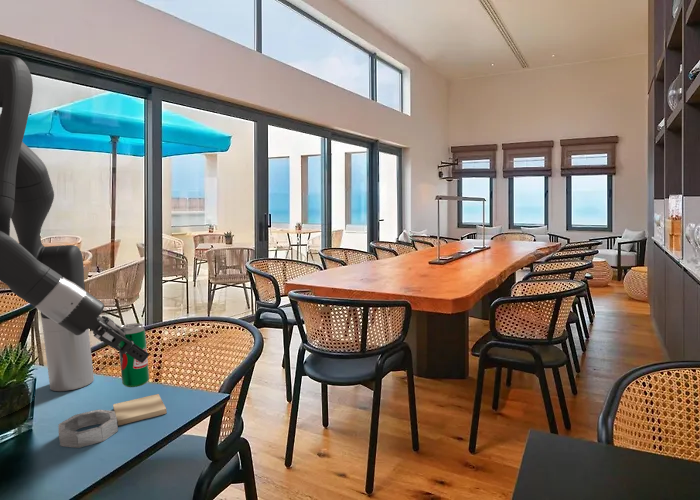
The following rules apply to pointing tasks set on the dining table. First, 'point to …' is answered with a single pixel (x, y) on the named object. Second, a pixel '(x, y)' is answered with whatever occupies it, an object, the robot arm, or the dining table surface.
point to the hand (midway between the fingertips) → (143, 354)
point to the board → (139, 409)
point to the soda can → (130, 367)
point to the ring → (89, 436)
